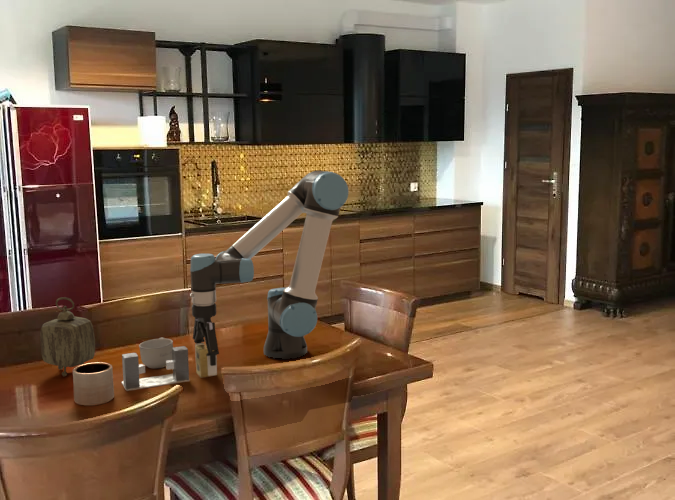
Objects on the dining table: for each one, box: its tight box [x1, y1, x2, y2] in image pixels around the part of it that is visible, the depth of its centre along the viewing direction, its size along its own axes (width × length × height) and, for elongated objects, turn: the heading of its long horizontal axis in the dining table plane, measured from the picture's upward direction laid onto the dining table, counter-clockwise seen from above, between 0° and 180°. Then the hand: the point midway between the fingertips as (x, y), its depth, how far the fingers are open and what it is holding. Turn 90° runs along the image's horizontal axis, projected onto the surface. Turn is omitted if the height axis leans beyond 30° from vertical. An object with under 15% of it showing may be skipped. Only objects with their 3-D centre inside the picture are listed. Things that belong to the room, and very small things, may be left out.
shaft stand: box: [121, 345, 191, 392], centre depth 216 cm, size 19×8×10 cm, turn 117°
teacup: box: [138, 337, 174, 369], centre depth 234 cm, size 14×11×8 cm
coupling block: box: [195, 343, 216, 379], centre depth 224 cm, size 5×5×9 cm
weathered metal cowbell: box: [39, 296, 96, 377], centre depth 223 cm, size 14×9×25 cm, turn 71°
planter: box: [72, 361, 115, 407], centre depth 202 cm, size 11×11×10 cm
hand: (206, 368), depth 224 cm, fingers open, 13 cm apart
